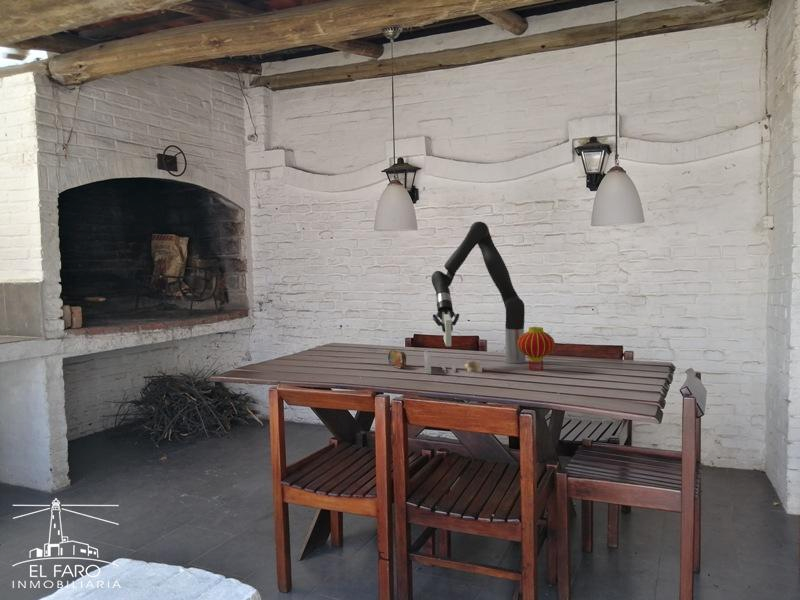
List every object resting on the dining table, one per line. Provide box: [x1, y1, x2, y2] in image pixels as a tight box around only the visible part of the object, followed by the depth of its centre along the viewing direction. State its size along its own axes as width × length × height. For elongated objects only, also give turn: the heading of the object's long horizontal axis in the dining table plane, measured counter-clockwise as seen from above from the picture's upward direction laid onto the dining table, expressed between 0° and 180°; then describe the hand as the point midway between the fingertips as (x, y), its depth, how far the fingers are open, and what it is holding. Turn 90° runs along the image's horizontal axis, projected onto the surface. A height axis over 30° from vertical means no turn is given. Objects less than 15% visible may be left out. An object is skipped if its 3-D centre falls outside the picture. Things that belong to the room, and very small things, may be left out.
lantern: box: [517, 326, 556, 372], centre depth 286 cm, size 17×17×30 cm
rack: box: [423, 350, 457, 375], centre depth 290 cm, size 14×18×8 cm
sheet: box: [443, 314, 452, 347], centre depth 292 cm, size 2×10×13 cm, turn 2°
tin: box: [387, 349, 407, 369], centre depth 301 cm, size 15×3×8 cm, turn 28°
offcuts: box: [464, 360, 483, 373], centre depth 291 cm, size 6×14×4 cm, turn 2°
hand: (447, 331), depth 290 cm, fingers closed on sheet, 2 cm apart
